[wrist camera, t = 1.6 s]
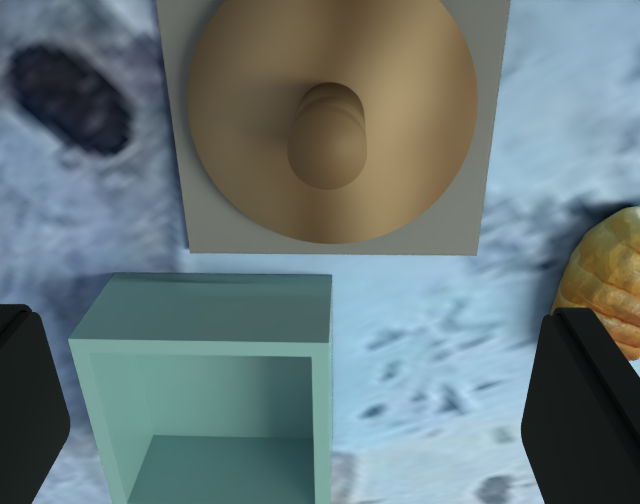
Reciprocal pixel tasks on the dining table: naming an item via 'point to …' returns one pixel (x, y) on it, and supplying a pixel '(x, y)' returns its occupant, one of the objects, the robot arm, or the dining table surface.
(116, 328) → the green square box
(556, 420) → the robot arm
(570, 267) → the pastry
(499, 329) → the dining table surface
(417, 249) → the mat
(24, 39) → the dining table surface
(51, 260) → the dining table surface
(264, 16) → the lid
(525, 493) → the dining table surface
